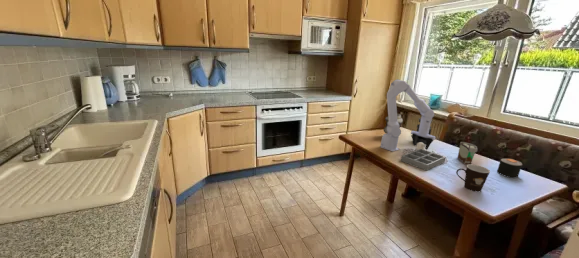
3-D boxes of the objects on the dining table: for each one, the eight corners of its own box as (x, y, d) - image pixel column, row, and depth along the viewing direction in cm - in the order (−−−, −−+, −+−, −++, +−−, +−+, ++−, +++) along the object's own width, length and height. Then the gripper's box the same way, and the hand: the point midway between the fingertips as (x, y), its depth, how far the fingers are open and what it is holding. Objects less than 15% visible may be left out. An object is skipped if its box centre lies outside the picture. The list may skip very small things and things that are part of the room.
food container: (477, 166, 139) (482, 149, 136) (465, 165, 140) (470, 148, 137) (467, 158, 151) (471, 142, 148) (456, 156, 152) (460, 141, 149)
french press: (410, 139, 181) (416, 109, 174) (421, 139, 182) (427, 109, 176) (420, 145, 169) (427, 112, 163) (432, 145, 171) (440, 112, 164)
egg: (414, 150, 160) (416, 141, 158) (417, 149, 162) (419, 140, 161) (421, 152, 156) (423, 143, 155) (424, 151, 159) (426, 142, 157)
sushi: (493, 171, 134) (497, 157, 131) (505, 170, 136) (509, 156, 133) (509, 178, 126) (514, 164, 124) (521, 177, 128) (526, 163, 126)
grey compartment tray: (400, 160, 142) (401, 155, 141) (419, 153, 154) (420, 148, 153) (426, 170, 131) (427, 165, 130) (444, 161, 143) (445, 156, 142)
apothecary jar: (379, 137, 184) (382, 113, 179) (388, 134, 191) (392, 111, 186) (393, 141, 174) (398, 117, 169) (403, 139, 181) (407, 115, 176)
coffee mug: (484, 188, 115) (490, 168, 112) (483, 195, 109) (489, 174, 106) (455, 179, 122) (460, 160, 119) (452, 185, 116) (457, 166, 113)
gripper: (439, 129, 151) (435, 149, 155) (416, 123, 163) (412, 142, 167) (434, 130, 147) (429, 151, 151) (410, 124, 159) (407, 144, 163)
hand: (420, 147), depth 159 cm, fingers open, 7 cm apart
